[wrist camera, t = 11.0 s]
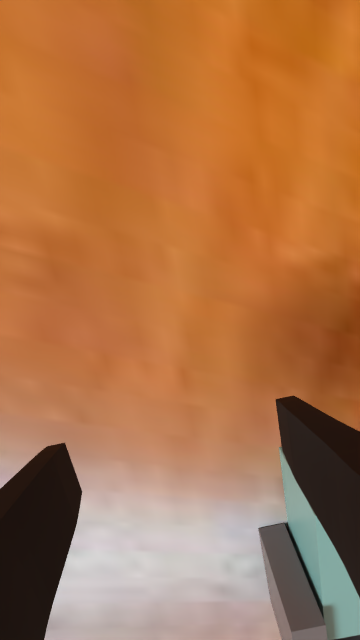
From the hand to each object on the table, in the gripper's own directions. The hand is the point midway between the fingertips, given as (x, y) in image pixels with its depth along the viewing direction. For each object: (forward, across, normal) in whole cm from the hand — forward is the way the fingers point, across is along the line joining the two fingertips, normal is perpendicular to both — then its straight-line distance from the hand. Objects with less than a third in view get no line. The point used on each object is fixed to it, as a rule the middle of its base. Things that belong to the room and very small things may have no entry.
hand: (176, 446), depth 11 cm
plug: (+10, -8, +14) cm, 19 cm away
